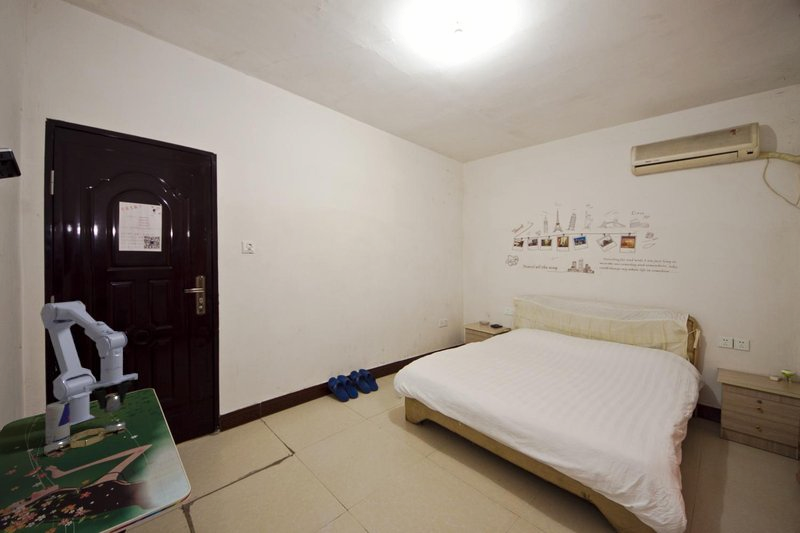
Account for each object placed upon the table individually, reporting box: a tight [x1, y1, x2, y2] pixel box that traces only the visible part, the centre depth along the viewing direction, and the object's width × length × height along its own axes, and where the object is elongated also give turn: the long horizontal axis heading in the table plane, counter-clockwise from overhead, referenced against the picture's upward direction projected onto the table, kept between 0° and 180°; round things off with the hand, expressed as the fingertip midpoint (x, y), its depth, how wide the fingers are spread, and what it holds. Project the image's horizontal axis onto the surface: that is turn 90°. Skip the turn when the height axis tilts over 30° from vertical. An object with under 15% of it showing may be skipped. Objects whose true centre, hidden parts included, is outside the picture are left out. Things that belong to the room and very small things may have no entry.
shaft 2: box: [104, 421, 126, 438], centre depth 107 cm, size 5×3×3 cm
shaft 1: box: [43, 437, 71, 457], centre depth 96 cm, size 5×3×3 cm
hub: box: [102, 392, 121, 414], centre depth 111 cm, size 4×4×5 cm
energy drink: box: [45, 400, 71, 445], centre depth 102 cm, size 5×5×12 cm
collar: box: [68, 427, 107, 449], centre depth 102 cm, size 9×9×2 cm
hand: (111, 405), depth 111 cm, fingers closed on hub, 4 cm apart
